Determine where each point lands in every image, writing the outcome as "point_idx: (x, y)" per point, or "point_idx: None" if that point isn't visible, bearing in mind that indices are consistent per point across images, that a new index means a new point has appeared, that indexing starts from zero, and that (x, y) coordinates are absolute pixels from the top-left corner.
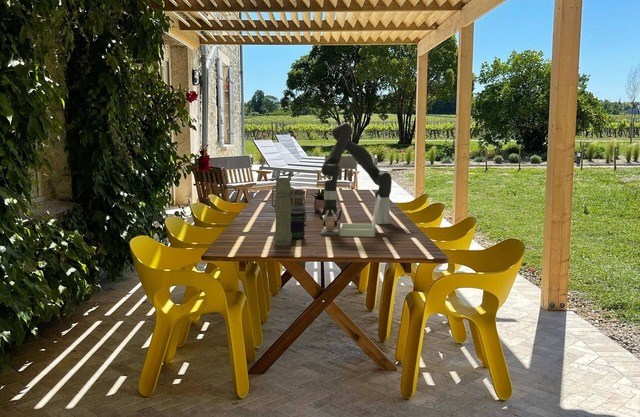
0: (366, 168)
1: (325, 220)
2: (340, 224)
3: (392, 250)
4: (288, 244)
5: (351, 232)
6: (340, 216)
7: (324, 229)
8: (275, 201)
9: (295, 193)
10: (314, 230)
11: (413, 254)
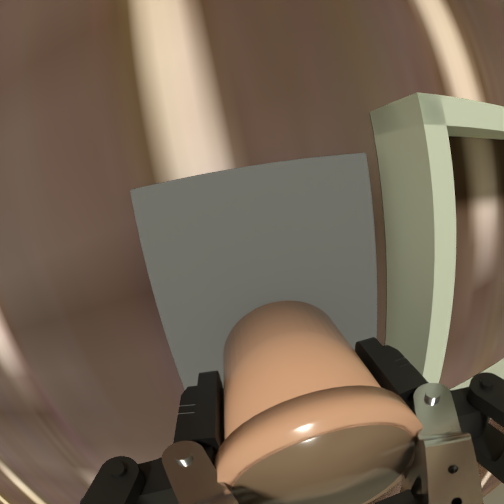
0: None
1: (217, 448)
2: (434, 213)
3: (481, 484)
4: None
5: None
6: (502, 447)
7: (178, 243)
8: None
9: None
10: (65, 251)
11: (498, 479)
